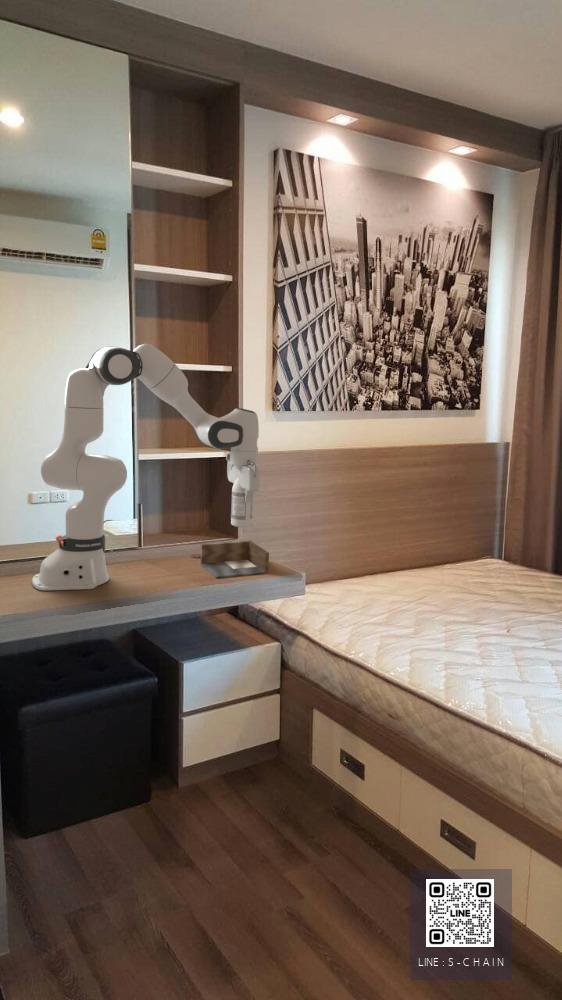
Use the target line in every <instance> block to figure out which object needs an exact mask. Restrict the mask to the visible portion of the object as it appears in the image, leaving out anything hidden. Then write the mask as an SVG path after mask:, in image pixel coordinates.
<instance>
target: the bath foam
mask: <svg viewBox="0 0 562 1000" xmlns="http://www.w3.org/2000/svg"><path fill="white" fill-rule="evenodd" d="M239 475H240V470H239ZM232 484H233V485H232V489H231V507H230V508H231V510H230V511H231V512H230V520H231V521H230V524H231V526H233V527H235V528H236V527H238V528H248V527H250V526H251V525H252V523H253V504H254V503H253V502H254V499H253V498H254V492H253V493H252V496H251V502H250V503H246V502H244V497H245V495H246V492H245V489H244V488H242V487H241V485H240V480H239V478H237V479H236V481H235V482H234V483H232Z"/></svg>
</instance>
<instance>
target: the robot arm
mask: <svg viewBox="0 0 562 1000" xmlns="http://www.w3.org/2000/svg"><path fill="white" fill-rule="evenodd" d="M134 379H138V380H139V381H140V382H141V383H143V384H144V386H145V387H146V388H147V389H148V390H149V391H151V392H152V393H153V394H154V395H155V396H156V397H157V398H159V399H160V400H162V401H163V402H165V403H167V404H168V405H170V406H172V408H174V409H175V410H176V411H177V413H179V414H180V415H181V416H182V417H183V418H184V420H186V421H187V422H188V423H189V424H190V426H191V428H192V429H193V432H194V434H195V437H196V440H198V442H199V443H201V444H202V445H205V446H208V447H211V448H214V449H216V450H225V449H230V452H228V453H226V455H225V456H226V457H225V460H226V461H227V467H226V472H227V473H226V474H227V479H228V482H230V483H232V484H234V482H235V481H236V479H237V478H239V480H240V485H241V487H242V488H244V489H245V492H246V495H245V497H244V502H246V503H250V502H251V496H252V493H253V494H254V492H258V491H259V489H260V487H261V486H260V485H261V484H260V470H259V468H258V467H257V465H258V460H259V458H258V457H259V448H258V440H259V434H260V433H259V431H260V429H259V428H260V427H259V416H258V414H257V413H256V411H253V410H250V409H246V408H241V407H236V408H234V409H233V410H232V411H231V412H229V413H228V414H226V415H224V416H221V417H217V416H215V415H213V414H210V413H208V412H206V411H205V410H204V409H203V408H202V407H201V406H200V405H199V403H198V402H197V401H196V400H195V399H194V398H193V397H192V396H191V394H190V393H189V390H188V387H189V381H188V378H187V377H186V375H185V374H184V372H183V371H182V370H181V369H180V367H178V366H177V364H176V363H175V362H174V361H173V360H172V359H171V358H170V357H168V356H167V355H166V354H165V353H164V352H162V350H160V349H159V348H158V347H155V346H154V345H153V344H151V343H142V344H140V345H138V346H137V347H135V348H134V349H133V350H129V349H126V348H124V347H123V348H122V347H117V346H106V347H103V348H99V349H98V350H96V351H95V352H94V354H92V356H91V358H90V359H89V361H88V363H87V364H86V366H85V368H78V369H74V370H71V372H70V373H69V374H68V377H67V380H66V385H65V391H64V421H63V433H62V436H61V439H60V442H59V443H58V445H57V446H56V448H55V449H54V450H53V451H52V452H51V453H49V454H47V456H46V457H44V459H43V461H42V463H41V467H40V474H41V477H42V480H43V482H44V483H45V485H47V486H50V487H53V488H56V489H61V490H71V491H82V492H83V496H82V499H81V500H79V501H77V502H75V503H73V504H70V506H69V507H68V508H67V509H66V511H65V535H61V534H57V535H56V536H55V540H56V542H58V548H57V549H56V550H55V551H54V552H52V553H50V554H49V555H48V556H46V557H45V558H44V559H42V562H41V565H40V568H39V573H37V574H35V575H34V576H33V577H32V578H31V579H32V580H31V583H32V586H33V588H35V589H37V590H39V591H69V590H70V591H71V590H93V589H95V588H97V587H98V586H100V585H102V584H105V583H107V582H108V581H109V580H110V575H109V574H108V570H107V565H106V558H105V557H106V556H105V552H106V536H105V534H104V523H105V522H104V521H105V510H106V508H107V505H108V503H109V502H110V499H111V498H112V497H113V495H115V494H116V493H117V492H118V491H120V490H121V489H122V488H123V487H124V486H125V483H126V481H127V479H128V470H127V466H126V465H125V463H124V462H123V460H122V459H119V458H117V457H114V456H109V455H106V454H105V455H103V454H102V455H101V454H88V453H86V448H87V445H88V444H91V443H93V442H95V441H96V440H98V439H100V438H101V436H102V435H103V432H104V396H105V392H106V389H107V387H109V386H123V385H125V384H127V383H129V382H131V381H133V380H134ZM239 470H240V475H239Z"/></svg>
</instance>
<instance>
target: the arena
mask: <svg viewBox="0 0 562 1000" xmlns="http://www.w3.org/2000/svg"><path fill="white" fill-rule="evenodd" d="M269 561H270V553H269V552H268V551H266V550H265V549H263V548H262V547H260V546H259V545H258V544H256V543H255V542H253V541H252V540H243V541H242V540H241V541H227V542H213V543H201V544H200V561H199V563H200V564H199V565H200V566H202V568H204V570H206V571H207V572H208V573H210V574H211V575H212V576H213V577H214V578H215V579H225V578H235V577H237V578H238V577H246V576H247V577H248V576H255V575H256V576H257V575H266V574H267V575H268V574H269V564H270V563H269Z"/></svg>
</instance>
